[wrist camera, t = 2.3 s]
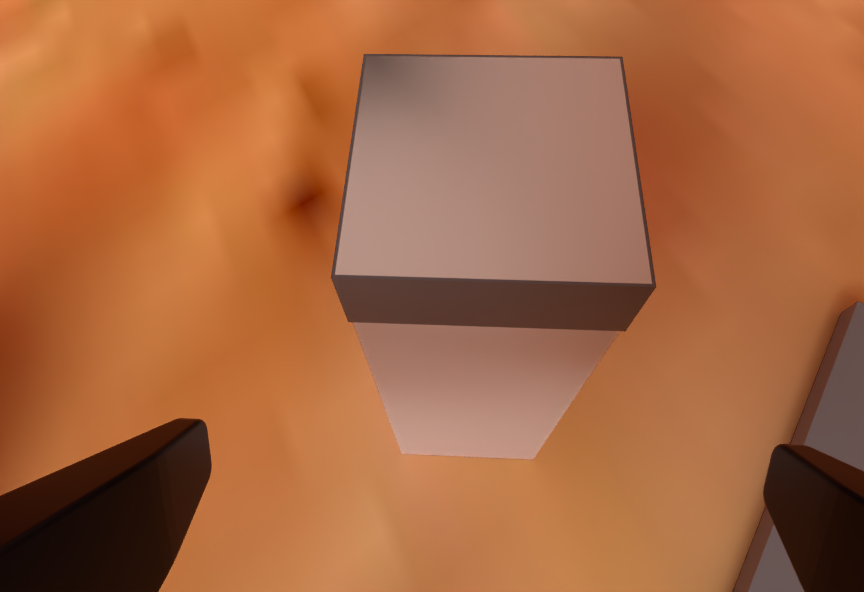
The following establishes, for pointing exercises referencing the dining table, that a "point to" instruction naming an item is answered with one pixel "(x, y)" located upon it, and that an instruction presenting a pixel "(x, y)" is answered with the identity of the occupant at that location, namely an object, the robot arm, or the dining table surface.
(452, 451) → the block
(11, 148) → the dining table surface
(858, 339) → the pad
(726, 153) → the dining table surface
